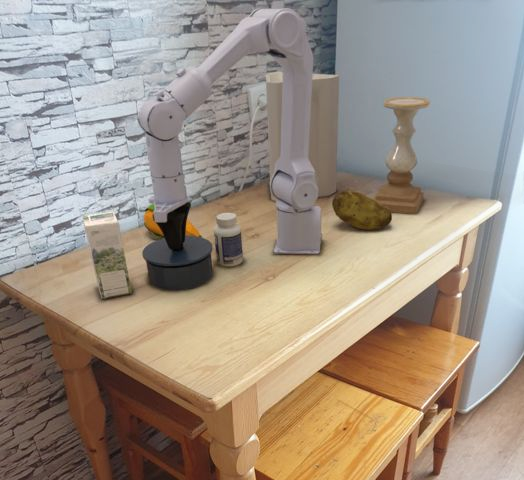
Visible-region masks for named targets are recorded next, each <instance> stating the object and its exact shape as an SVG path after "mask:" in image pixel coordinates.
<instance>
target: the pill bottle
mask: <svg viewBox="0 0 524 480" xmlns="http://www.w3.org/2000/svg"><path fill="white" fill-rule="evenodd" d="M215 223H216V225H215V227H214V228H213V235H214V246H215V247H214V248H215V257H216V262H217V264H218V265H220V266H222V267H229V268H230V267H236V266H239V265H240V264H242V263H243V262H244V254H243V253H244V252H243V241H242V228H241V226H240V225H239V224H238V219H237V214H235V213H233V212H221V213H218V214H217V215H216V216H215Z"/></svg>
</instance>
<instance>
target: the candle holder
mask: <svg viewBox="0 0 524 480" xmlns="http://www.w3.org/2000/svg"><path fill="white" fill-rule="evenodd" d="M430 104H431V100H430V99H428V98H426V97H418V96H398V97H391V98H386V99H384V101H383V107H384V108H386V109H390V110H393V113H394V115H395V117H396V124H395V126H394V128H393V129H392V133H393V136H394V138H395V143H394V144H393V146H392V148H391V150H390V151H389V152H388V154H387V156H386V158H385V166H386V168H387V169H388V170H389V172H388V173H387V175H386V180H387V182H388V183H386V184H383V185H382V186H381V187H380V189H379V190H378V191H377V193H376V195H375V197H374V198H373V199H372V200H374V201H377V202H379V203H381V204H383V205H385V206H386V207H388V208H389V209H390V210H391V213H399V214H410V215H416V214H417V213H418V211H419V210H420V208H421V205H423V202H424V196H425V195H424V194H425V193H424V192H423V191H421V190H422V189H421V187H419V186H414V185H413V184H412V183H411V182H412V181H413V179H414V176H413V173H412V170H414V169H415V168H416V167H417V164H418V157H417V155H416V152H415V150H414V148H413V146H412V142H411V140H412V137H414V134H415V133H416V129H415V126H414V123H413V122H414V118H415V116H416V115H417V114H418V112H419V110H420V109H421V110H422V109H426V108H428V107H429V106H430Z"/></svg>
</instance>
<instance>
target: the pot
mask: <svg viewBox="0 0 524 480" xmlns="http://www.w3.org/2000/svg"><path fill="white" fill-rule="evenodd" d="M145 263H146V269H147V275H148V281H149V283H150V284H151V285H152V286H153V287H155V288H157V289H160V290H164V291H184V290H185V291H186V290H190V289H195V288H197V287H200V286H202V285H204V284H206V283H207V282H209V281H210V279H211V278H212V277H213V273H214V268H213V259H212V253H211V254H210V255H209V256H207V257H206V258H204V259H202V260H200V261H197V262H194V263H191V264H186V265H180V266H160V265H155V264H151V263H149V262H147V261H146V260H145Z"/></svg>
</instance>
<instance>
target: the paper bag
mask: <svg viewBox="0 0 524 480" xmlns="http://www.w3.org/2000/svg"><path fill="white" fill-rule="evenodd" d="M282 84H283V71H274V72H271V73H266V74H265V88H266V91H265V92H266V117H267V139H268V141H267V142H268V145H267V146H268V168H269V169H268V170H269V171H268V172H269V182H270V181H271V178H272V176H273V173H274V165H275V163H276V162H277V160H278V159H279V158H280V155H281V120H282ZM339 94H340V74H323V73H313V77H312V95H311V114H310V133H309V151H308V159H309V161H310V163H311V165H312V167H313V168H314V170H315V181H316V184H317V186H318V197H317V198H323V197H328V196H331V195H332V194H334V193H337V177H338V176H337V173H338V171H337V170H338V138H339V137H338V136H339V135H338V133H339V100H340V99H339V98H340V97H339V96H340V95H339ZM270 200H271V201H274V202H276V197H274V196H273V195H272V193H271V192H270Z"/></svg>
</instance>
